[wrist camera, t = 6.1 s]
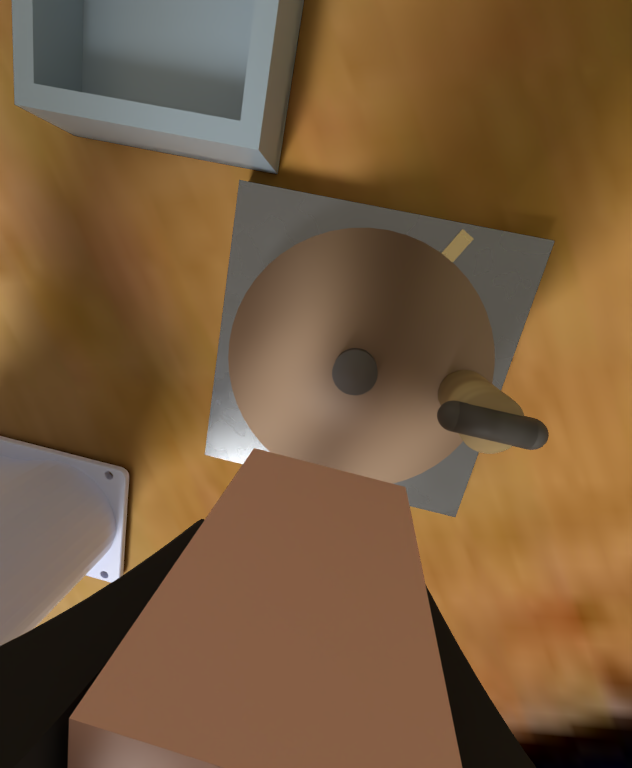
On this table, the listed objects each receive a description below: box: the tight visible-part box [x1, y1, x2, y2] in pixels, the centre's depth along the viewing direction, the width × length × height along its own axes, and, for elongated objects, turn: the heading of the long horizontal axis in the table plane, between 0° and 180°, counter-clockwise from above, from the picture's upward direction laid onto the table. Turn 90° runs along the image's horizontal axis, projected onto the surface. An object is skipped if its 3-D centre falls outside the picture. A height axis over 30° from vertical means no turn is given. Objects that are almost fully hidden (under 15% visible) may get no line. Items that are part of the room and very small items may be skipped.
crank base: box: [205, 180, 554, 517], centre depth 17 cm, size 13×13×1 cm
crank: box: [228, 228, 548, 484], centre depth 14 cm, size 12×11×5 cm
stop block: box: [68, 448, 462, 768], centre depth 8 cm, size 4×4×7 cm
